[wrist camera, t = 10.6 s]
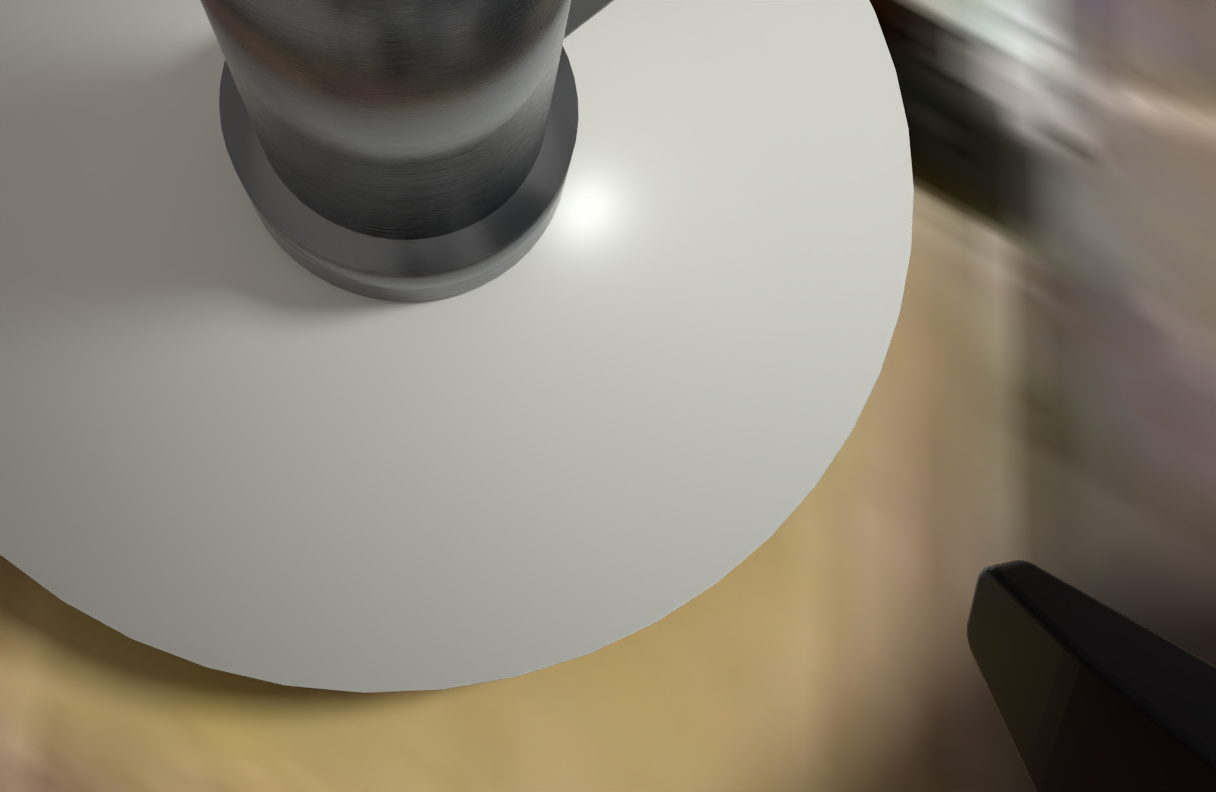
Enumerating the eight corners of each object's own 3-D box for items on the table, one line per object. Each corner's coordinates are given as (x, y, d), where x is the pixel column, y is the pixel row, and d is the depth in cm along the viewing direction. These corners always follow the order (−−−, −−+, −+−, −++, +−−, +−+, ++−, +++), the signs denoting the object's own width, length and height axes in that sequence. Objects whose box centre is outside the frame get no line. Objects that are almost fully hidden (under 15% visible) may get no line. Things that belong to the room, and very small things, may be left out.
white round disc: (347, 940, 20) (341, 960, 19) (-395, 87, 21) (-441, 58, 20) (1079, 223, 25) (1107, 206, 24) (456, -433, 26) (456, -478, 25)
